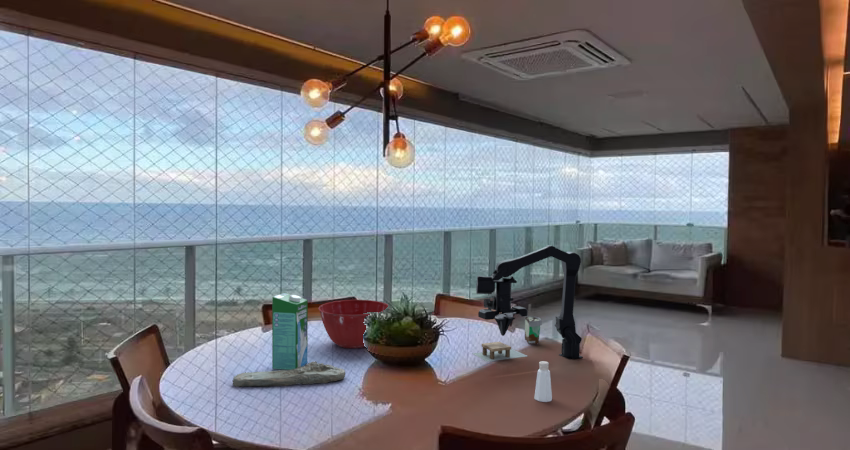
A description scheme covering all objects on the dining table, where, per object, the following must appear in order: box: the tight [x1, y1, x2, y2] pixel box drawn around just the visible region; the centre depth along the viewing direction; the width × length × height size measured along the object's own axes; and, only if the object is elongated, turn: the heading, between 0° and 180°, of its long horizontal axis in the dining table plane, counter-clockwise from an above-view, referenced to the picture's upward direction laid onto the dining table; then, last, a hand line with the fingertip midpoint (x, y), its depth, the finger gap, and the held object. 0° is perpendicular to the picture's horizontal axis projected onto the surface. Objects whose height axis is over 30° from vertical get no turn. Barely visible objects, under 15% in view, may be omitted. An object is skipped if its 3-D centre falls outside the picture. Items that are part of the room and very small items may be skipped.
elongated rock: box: [232, 361, 346, 388], centre depth 171 cm, size 35×5×10 cm
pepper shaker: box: [533, 360, 553, 403], centre depth 158 cm, size 5×5×11 cm
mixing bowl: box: [318, 299, 389, 349], centre depth 216 cm, size 28×28×16 cm
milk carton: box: [271, 292, 309, 371], centre depth 186 cm, size 9×9×25 cm
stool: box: [481, 341, 512, 359], centre depth 201 cm, size 8×4×8 cm
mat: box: [472, 348, 528, 363], centre depth 202 cm, size 11×18×1 cm, turn 115°
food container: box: [524, 315, 543, 345], centre depth 222 cm, size 12×6×10 cm, turn 179°
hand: (502, 335), depth 202 cm, fingers closed
